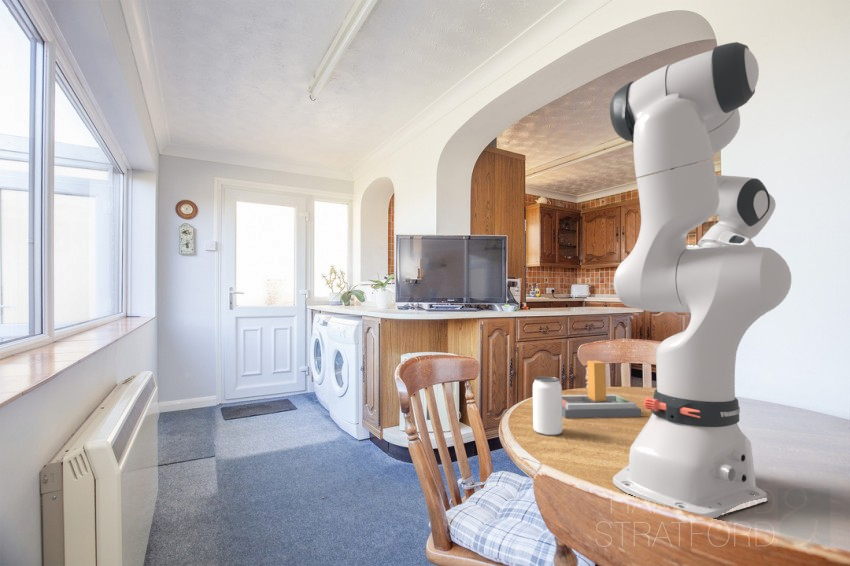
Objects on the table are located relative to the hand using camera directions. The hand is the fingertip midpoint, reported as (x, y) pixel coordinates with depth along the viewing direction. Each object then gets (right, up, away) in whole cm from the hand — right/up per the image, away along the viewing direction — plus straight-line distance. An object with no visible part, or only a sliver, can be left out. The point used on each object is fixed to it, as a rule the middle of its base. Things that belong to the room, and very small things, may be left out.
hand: (684, 287), depth 97 cm
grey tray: (-18, -34, +10) cm, 39 cm away
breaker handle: (-17, -31, +10) cm, 37 cm away
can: (-35, -33, -5) cm, 49 cm away
